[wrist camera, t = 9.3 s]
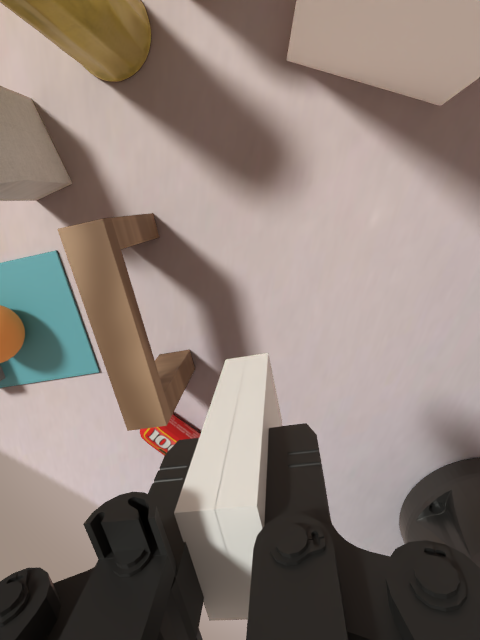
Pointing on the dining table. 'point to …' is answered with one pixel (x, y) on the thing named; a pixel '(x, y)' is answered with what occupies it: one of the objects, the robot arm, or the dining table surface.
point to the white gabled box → (26, 152)
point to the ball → (10, 333)
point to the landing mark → (44, 322)
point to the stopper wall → (2, 374)
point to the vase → (93, 32)
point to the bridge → (124, 319)
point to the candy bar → (168, 434)
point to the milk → (391, 43)
